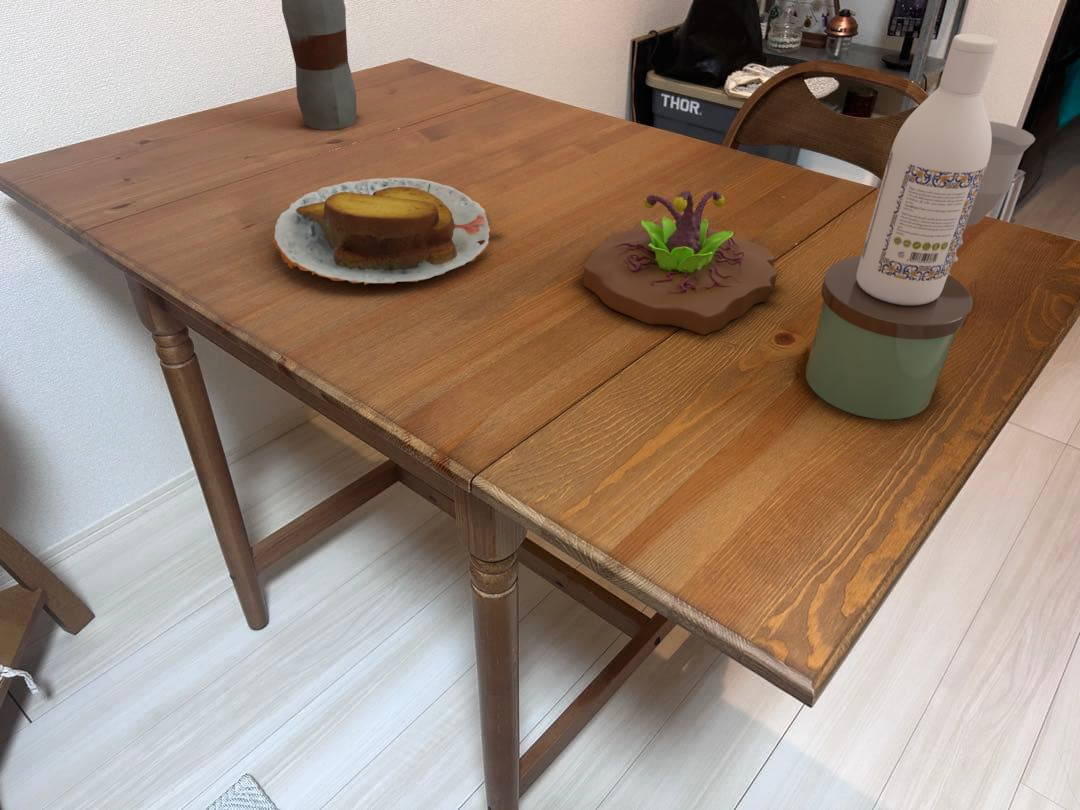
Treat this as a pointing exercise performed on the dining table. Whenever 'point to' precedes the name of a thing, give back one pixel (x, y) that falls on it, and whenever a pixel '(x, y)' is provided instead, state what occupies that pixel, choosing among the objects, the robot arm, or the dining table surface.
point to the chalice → (999, 169)
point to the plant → (680, 269)
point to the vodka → (321, 62)
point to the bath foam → (931, 182)
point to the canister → (881, 346)
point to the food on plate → (382, 230)
